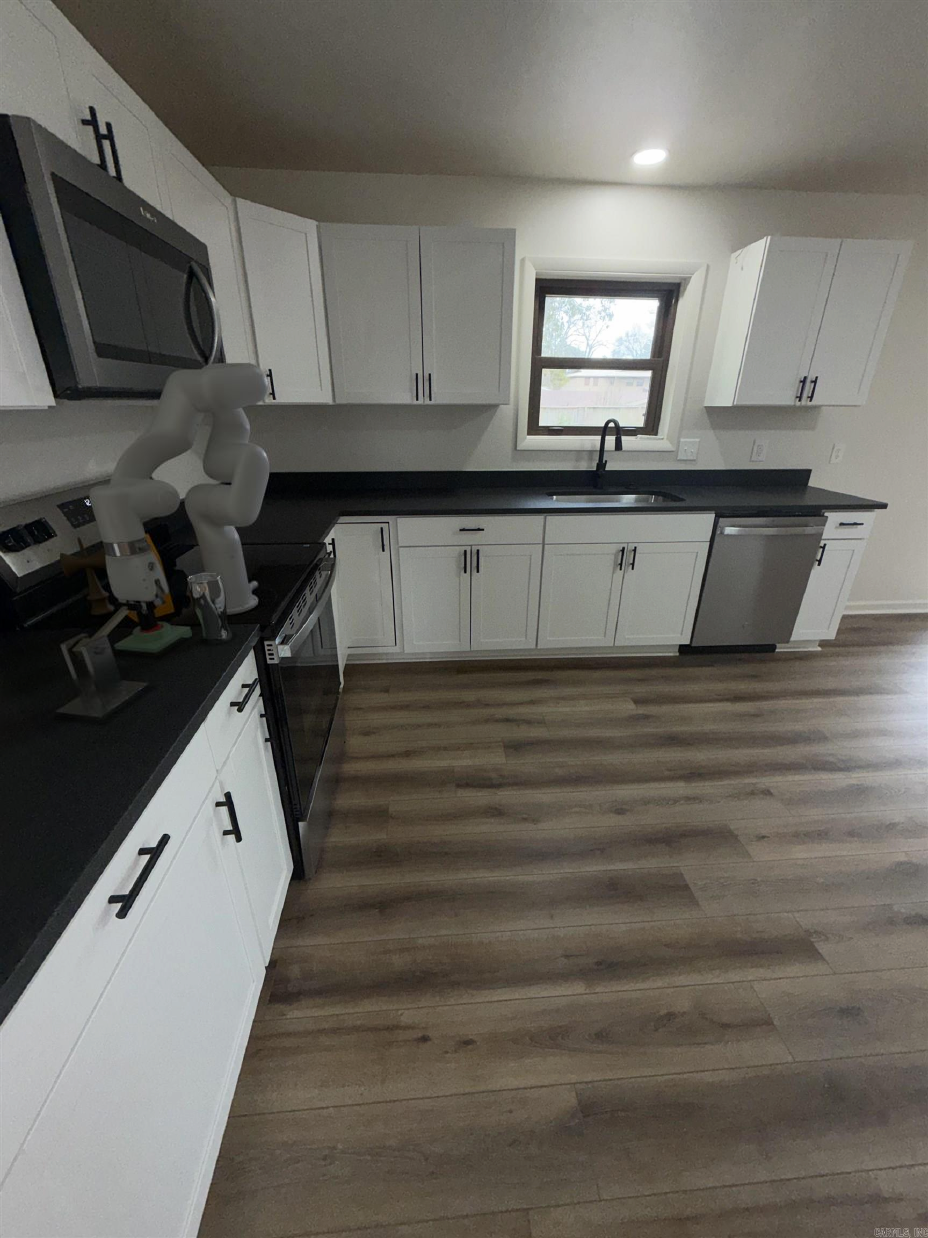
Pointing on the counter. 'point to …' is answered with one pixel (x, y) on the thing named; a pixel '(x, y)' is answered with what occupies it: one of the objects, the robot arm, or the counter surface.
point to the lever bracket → (95, 678)
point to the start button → (152, 629)
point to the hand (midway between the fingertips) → (149, 627)
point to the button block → (153, 638)
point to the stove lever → (109, 624)
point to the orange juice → (168, 605)
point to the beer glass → (210, 605)
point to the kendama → (89, 577)
